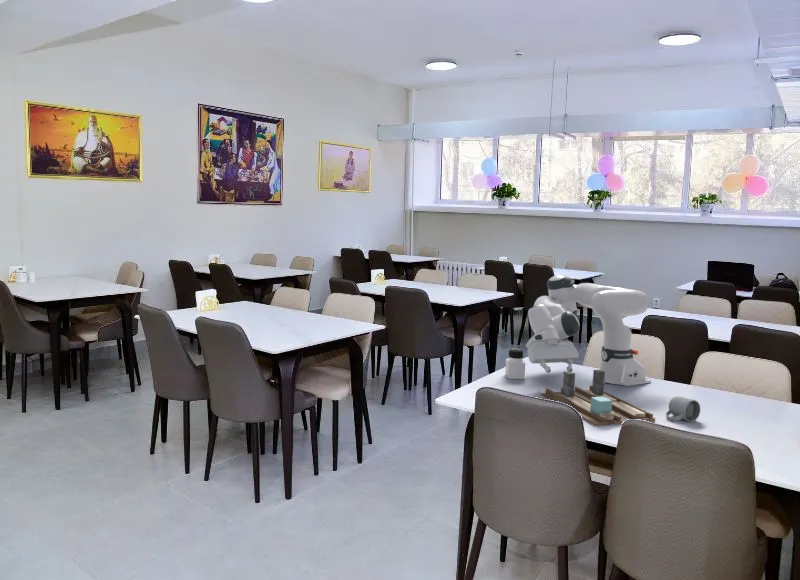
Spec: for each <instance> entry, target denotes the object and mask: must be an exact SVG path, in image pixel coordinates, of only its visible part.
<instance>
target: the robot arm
mask: <svg viewBox="0 0 800 580" xmlns="http://www.w3.org/2000/svg"><path fill="white" fill-rule="evenodd" d="M546 286H547V287H546V288H547V291H548V295H541V296H539V297H537V298H536V300H535V302H534V304H533V306H532V307H530V308H529V309H528V311H527V316H528V320H529V324H530V330H531V334H532V336H531V337H530V338H529V340H528V341H527V343H526V344H525V347H526V348H527V350H526V353H527V357H528V360H529V362H530V363H531V364H533V365H534V364H539V366H540V367H542V369H544V371H545V373H547V374H548V373H550V372H551V371H552V369H551V366H550V365H549V366H548V365H547V364H555V363H566V365H567V366H566V367H565V369H566V370H567V371H566V372H568V371H571V372H573V363H574V362H576V361H577V360H578V359H579V358H580V355H579V352H578V350H577V349H576V347H575V345H574V343H573V342H572V341H571V340H569V339H567V338H569V337H572V336H574V335H577V334H578V333H579V331H580V328H581V327H580V326H581V325H580V321H579V319H578V317H577V316H578V308H577V303H578V304H579V305H582V306H584V307H585V308H589V309H592V311H593V312H594V313H595V315H596V316H598V318H599V319H600V321H601V324H602V327H603V342H602V343H603V345H602V346H601V351H600V352H601V363H600V366H599V370H603V371H605V379H604V383H608V384H612V385H621V386H624V387H625V386H626V387H629V386H637V385H643V384H651V383H652V380H651V378H649V377H647V375H646V368H645V366H644V365H642V363H640V362H639V361H638V360H637V359H636V358H635V357H634V356H638V355H639V350H636V349H632V348H631V346H632V345H631V344H632V330H631V329H630V328H629V327H628V326H627V325H626V324H624V321H623V317H629V316H631V317H632V316H637V315H641V314H644V313H645V312H646V311H647V310H648V307H649V303H650V301H649V298H648V295H647V294H646V293H645V292H643V291H642V290H638V289H636V290H635V289H631V288H630V289H629V288H623V287H615V286H606V285H602V284H596V283H594V282H593V283H591V282H581V283H579V284H575V280H574V279H571V278H570V277H568V276H566V275H564V274H557V275H556V274H555V275H554V276H552V277H550V278H549V279H548V280H547V281H546Z"/></svg>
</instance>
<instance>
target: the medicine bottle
mask: <svg viewBox="0 0 800 580" xmlns="http://www.w3.org/2000/svg"><path fill="white" fill-rule="evenodd" d="M525 370H526V362H525V360H524V351H523V349H519V348H511V349H509V350H508V358H506V359H505V373H504V374H505V376H506V378H507V379H508V378H509V380H510V379H511V380H525V377H526V376H525V374H526V373H525V372H526V371H525Z"/></svg>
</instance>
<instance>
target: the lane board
mask: <svg viewBox="0 0 800 580" xmlns="http://www.w3.org/2000/svg"><path fill="white" fill-rule="evenodd" d="M562 393H563V387H561V388H560V391H554V390H552V389H550V388H545V392H540V396H541V397H542V398H544V399H546V400H548V399H550V400H554V401H559V402H562V403H565V404H568V405H570V406H572V407H573V408H575V409H576V410H577V411H578V412H579V413H580V414H581V416H582V418H583V419H582V420H583V421H585V422H587V423H589V424H590V425H591V426H594V427H604V426H615V425H616V426H617V425H622V424H621V423H622V422H623V421H625V420H627V419H641V420H646V421H650V422H656V418H655V417H654V414H653V413H651V412H650V411H647V410H645V409H643V408H641V407H639V406H636V405H634V404H632V403H631V402H628V401H627V400H624V399H621V398H619V397H618V396H615V395H614V394H612V393H609V392H607V391H605V390H604V394H606V395H608V396H610V397H612V398H614V399H616V400H617V402H619V401H621V402H623V403H625V404H627V405H629V406H631V407H633V408H635V409H638V410H640V411H642V412H644V413H646V416H645V417H636V415H634V414H632V413H630V412H628V411H626V410H624V409H622V408H620V407H618V406H616V405H614V404H612V411H611V412H614V419H613V420H604V418H603V417H601V416H599V415H597V414H595V413H593V412H591V411H589V410H588V409H586V408H584V407H582V406H580V405H578V404H576V403H574V402H573V401H571V400H569V399H567V398H565V397H563V396H561V395H562ZM591 393H592V385H589V389H583V388H581V387H579V386H574V396H576V397H578V398H580V399H582V400H584V401H586V402H588V403H590V404H591V397H598V396H596V395H593V394H591ZM550 400H549V401H550Z"/></svg>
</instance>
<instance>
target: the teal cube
mask: <svg viewBox="0 0 800 580" xmlns="http://www.w3.org/2000/svg"><path fill="white" fill-rule="evenodd" d="M590 411H591V412H593V413H595V414H597V415H599V416H600V413H604V412H611V411H612V400H610V399H608V398H606V397H604V396H602V397H591V407H590Z"/></svg>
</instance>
